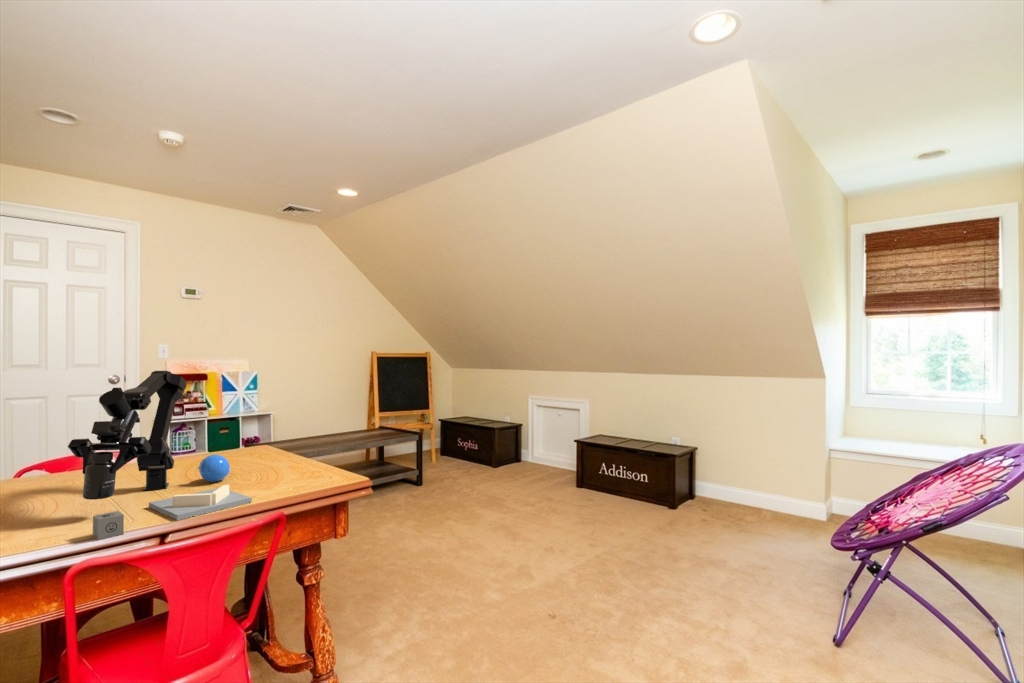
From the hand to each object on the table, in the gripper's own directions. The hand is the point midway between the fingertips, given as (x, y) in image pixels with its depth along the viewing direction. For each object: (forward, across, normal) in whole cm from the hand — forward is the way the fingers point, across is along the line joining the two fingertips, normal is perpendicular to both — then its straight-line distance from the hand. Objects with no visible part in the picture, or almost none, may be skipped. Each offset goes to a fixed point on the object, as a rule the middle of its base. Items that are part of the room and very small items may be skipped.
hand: (98, 473), depth 139 cm
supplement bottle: (+4, -1, +6) cm, 7 cm away
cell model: (-17, +16, +36) cm, 43 cm away
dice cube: (+19, +10, -2) cm, 22 cm away
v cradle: (+4, +23, +14) cm, 27 cm away
